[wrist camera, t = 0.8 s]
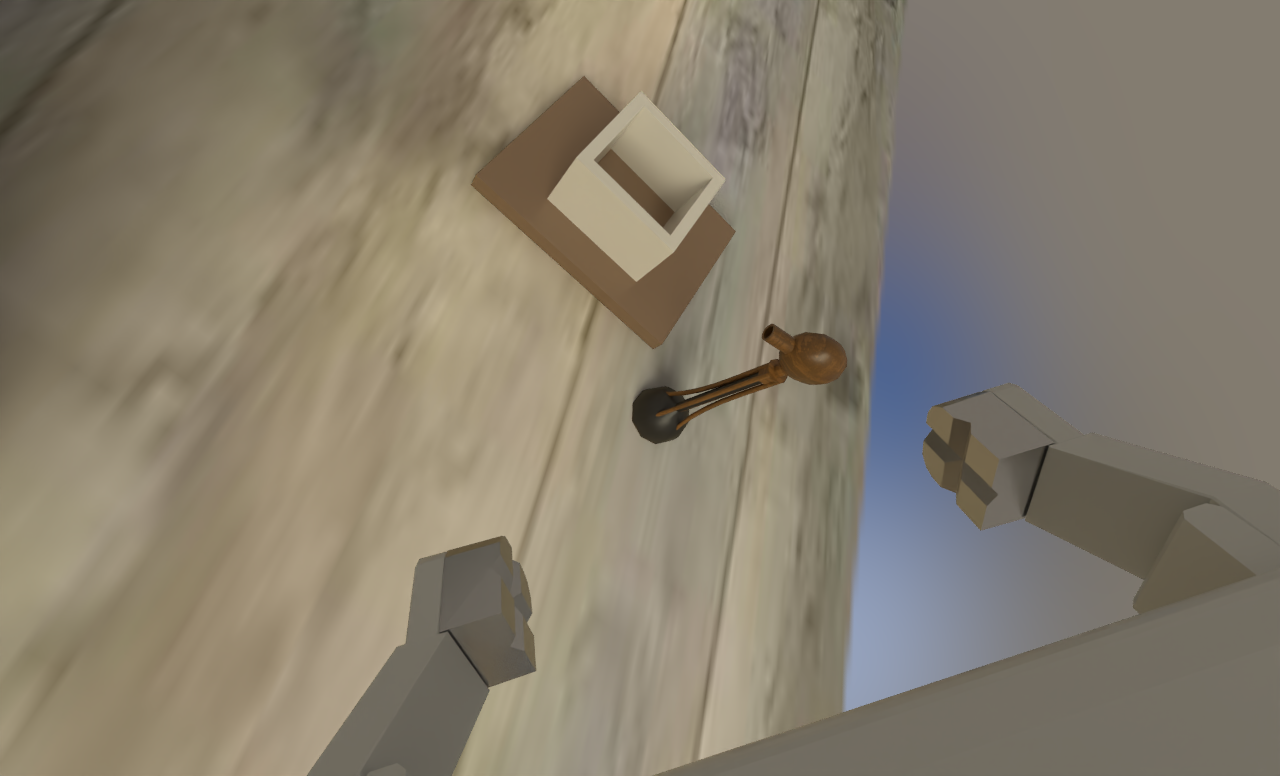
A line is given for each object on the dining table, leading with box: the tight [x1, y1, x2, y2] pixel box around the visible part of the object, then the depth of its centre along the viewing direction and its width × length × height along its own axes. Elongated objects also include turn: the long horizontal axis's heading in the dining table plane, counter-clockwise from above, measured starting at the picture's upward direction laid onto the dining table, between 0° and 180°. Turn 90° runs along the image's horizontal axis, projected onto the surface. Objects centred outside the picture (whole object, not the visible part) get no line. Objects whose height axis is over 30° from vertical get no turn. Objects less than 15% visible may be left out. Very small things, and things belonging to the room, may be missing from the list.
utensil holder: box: [471, 76, 736, 349], centre depth 49 cm, size 20×16×8 cm
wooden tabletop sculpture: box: [632, 324, 847, 444], centre depth 41 cm, size 6×5×20 cm
